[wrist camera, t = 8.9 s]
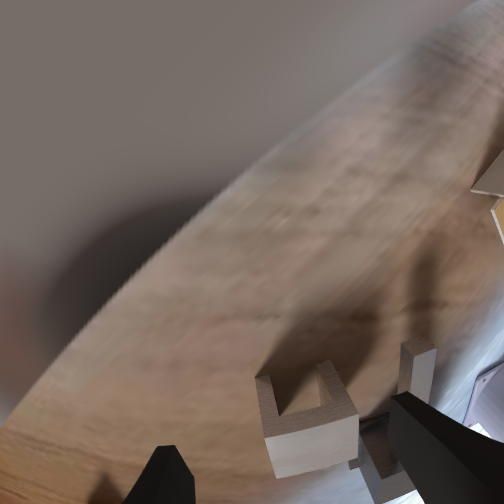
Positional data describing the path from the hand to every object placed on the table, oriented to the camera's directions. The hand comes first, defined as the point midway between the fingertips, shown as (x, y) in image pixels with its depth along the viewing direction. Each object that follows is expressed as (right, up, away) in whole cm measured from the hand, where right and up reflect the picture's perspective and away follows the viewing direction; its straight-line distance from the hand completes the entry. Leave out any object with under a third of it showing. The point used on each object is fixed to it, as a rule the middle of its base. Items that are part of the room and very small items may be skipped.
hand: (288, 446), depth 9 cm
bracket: (+2, -4, +12) cm, 13 cm away
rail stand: (+10, -6, +13) cm, 17 cm away
